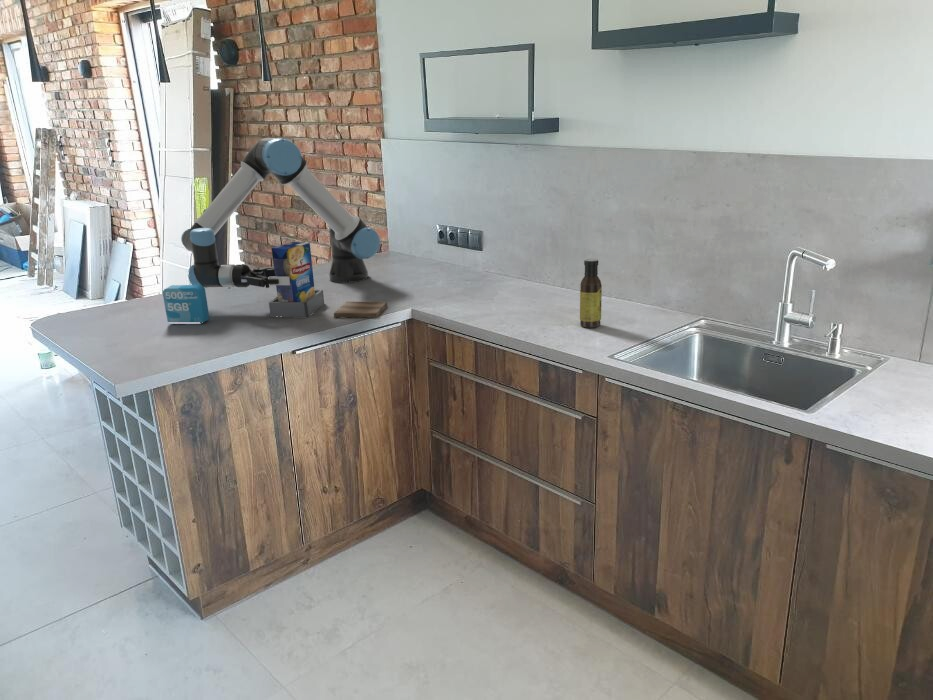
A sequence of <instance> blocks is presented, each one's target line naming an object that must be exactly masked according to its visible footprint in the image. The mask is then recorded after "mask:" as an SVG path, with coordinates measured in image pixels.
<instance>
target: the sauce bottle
mask: <svg viewBox="0 0 933 700" xmlns="http://www.w3.org/2000/svg"><path fill="white" fill-rule="evenodd" d="M583 264H584V273H583V274H584V276H583V277H582V279H581V280H580V284H579V285H580V289H579V320H580V321H579V324H580V326H581V327H583V328H586V329H587V328H598V327H599V326H601V320H602V299H603V298H602V297H603V296H602V295H603V293H602V288H603V287H602V280H601V279H600V278H599V276H598V275H599V273H598V271H599V270H598V269H599V268H598V266H599V259H597V258H585V259H584V261H583Z"/></svg>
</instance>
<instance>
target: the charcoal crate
mask: <svg viewBox="0 0 933 700" xmlns="http://www.w3.org/2000/svg"><path fill="white" fill-rule="evenodd" d="M323 304H324V305H325V298H324V290H323V289H315V295H313V296H312V297H311V298H309V299H308V300H307V301H305V302H278V297H277V296H276V297H275V298H273V299H272V300H270V301H268V307H269V314H270V318H282V317H308V318H309V317H310V315H311V314H312V313H313V314H314V313H315V312H316V311H318V310H319V309H320V308H321V307H323V306H324V305H323ZM318 308H319V309H318ZM317 309H318V310H317ZM313 314H312V315H313ZM312 315H311V316H312ZM276 316H278V317H276ZM280 316H282V317H280Z"/></svg>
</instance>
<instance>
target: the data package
mask: <svg viewBox="0 0 933 700" xmlns="http://www.w3.org/2000/svg"><path fill="white" fill-rule="evenodd" d="M162 297H163V298H162V299H163V303H164V309H165V314H166V319H167V323H168V322H200V323H202V322H204V323H206V322H207V321H208V320H209V319H210V312H209V305H208V301H207V300H208V299H207V293H206V289H205V287H203V286H202V285H192V284H175V285H174V284H173V285H172V284H171V285H169V286H168V287H166V288H164V289H163V290H162ZM206 320H207V321H206ZM205 321H206V322H205Z"/></svg>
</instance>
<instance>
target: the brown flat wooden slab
mask: <svg viewBox="0 0 933 700" xmlns="http://www.w3.org/2000/svg"><path fill="white" fill-rule="evenodd" d="M387 305H388V302H387V301H345V302H344V303H343V304H341V306H340V307H339V308H337V310H335V311H334V312H333V317H375V318H374V319H377V318H378V317H379V316H380V315H379V314H382V312H383V311H384V310H385V309H386V308H385V307H386V306H387ZM387 307H388V306H387ZM378 315H379V316H378ZM377 316H378V317H377Z"/></svg>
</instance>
